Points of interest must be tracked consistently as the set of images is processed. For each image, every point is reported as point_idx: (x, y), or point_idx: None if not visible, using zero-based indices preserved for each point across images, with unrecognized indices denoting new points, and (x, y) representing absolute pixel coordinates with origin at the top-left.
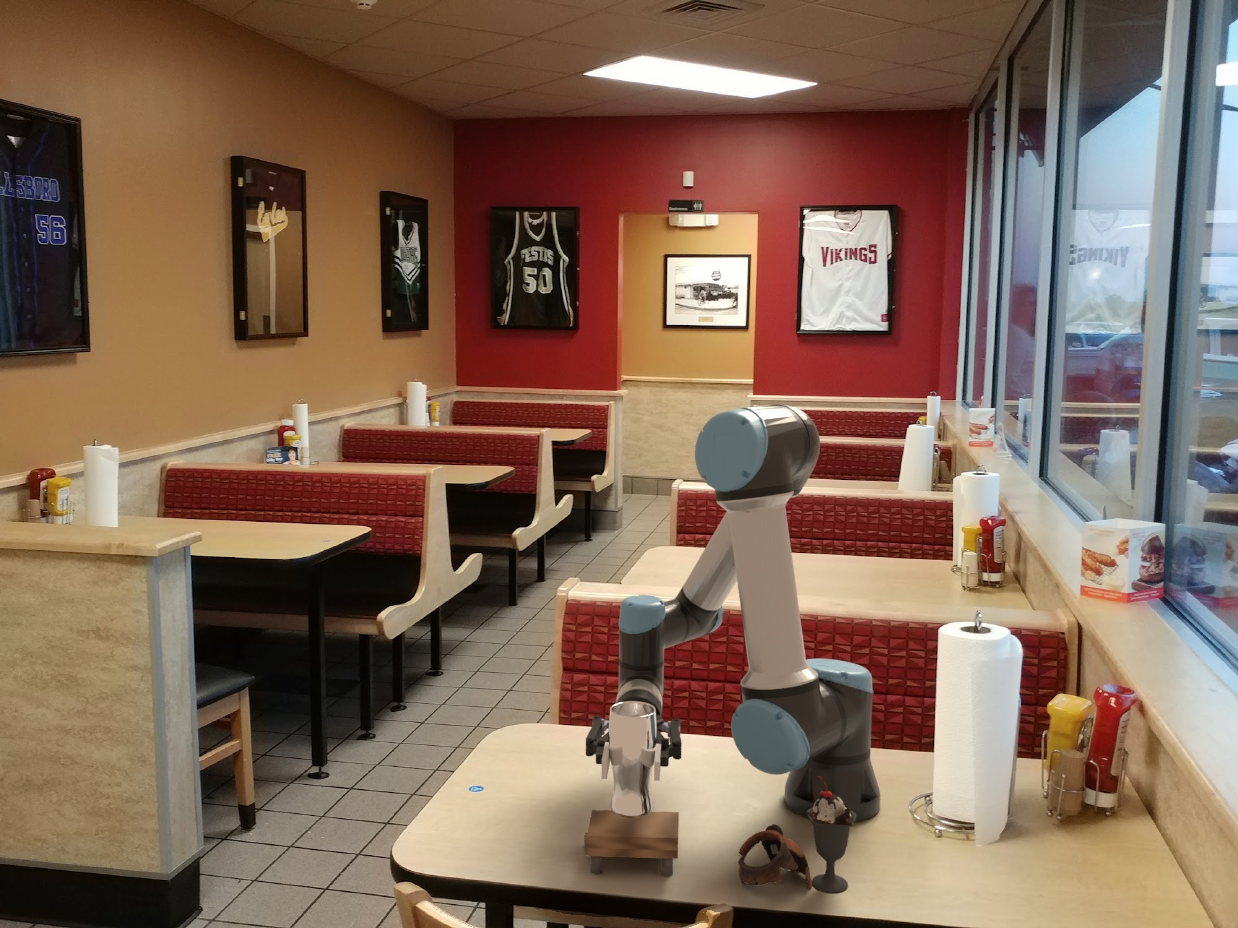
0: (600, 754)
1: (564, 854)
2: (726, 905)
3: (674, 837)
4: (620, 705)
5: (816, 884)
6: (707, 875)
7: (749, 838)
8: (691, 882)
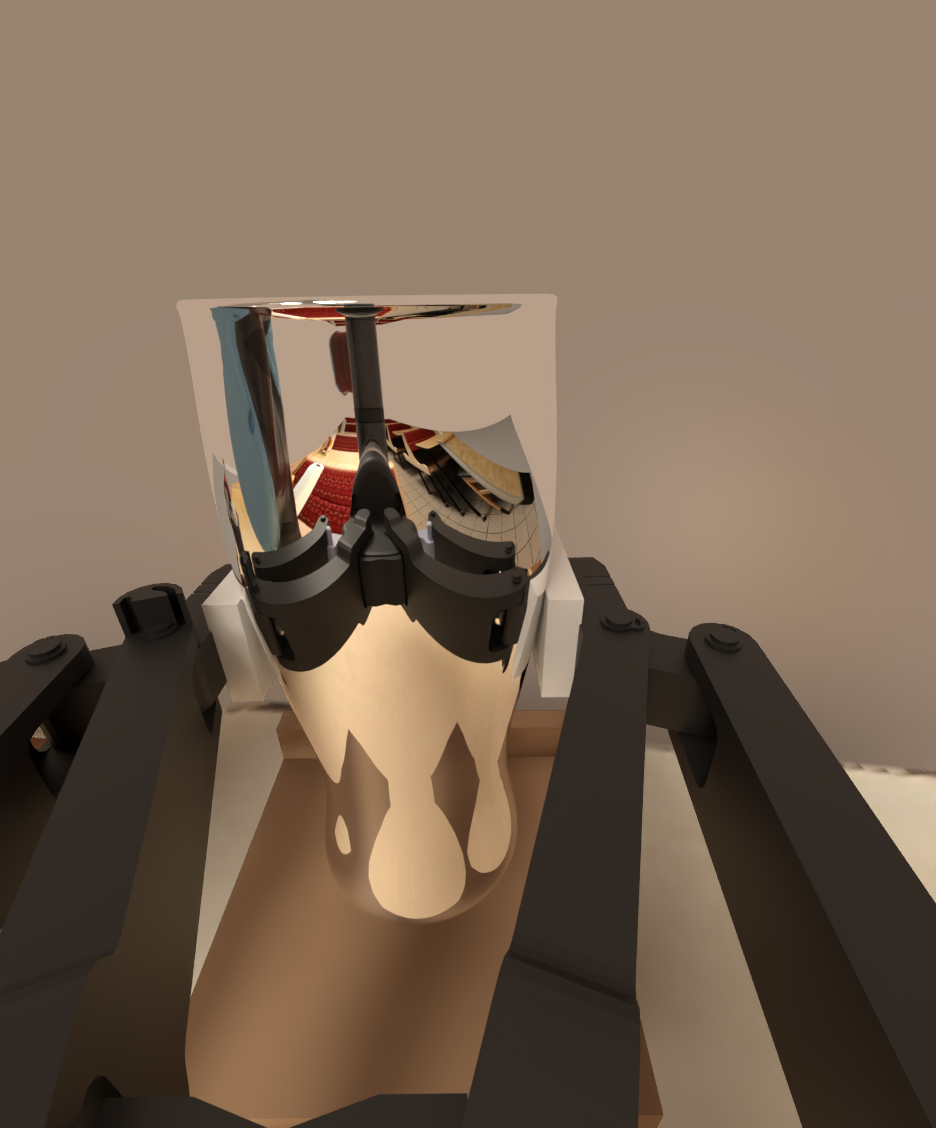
0: (574, 559)
1: (681, 937)
2: (229, 706)
3: (293, 715)
4: (486, 330)
5: None
6: (211, 825)
7: (40, 746)
8: (272, 787)
